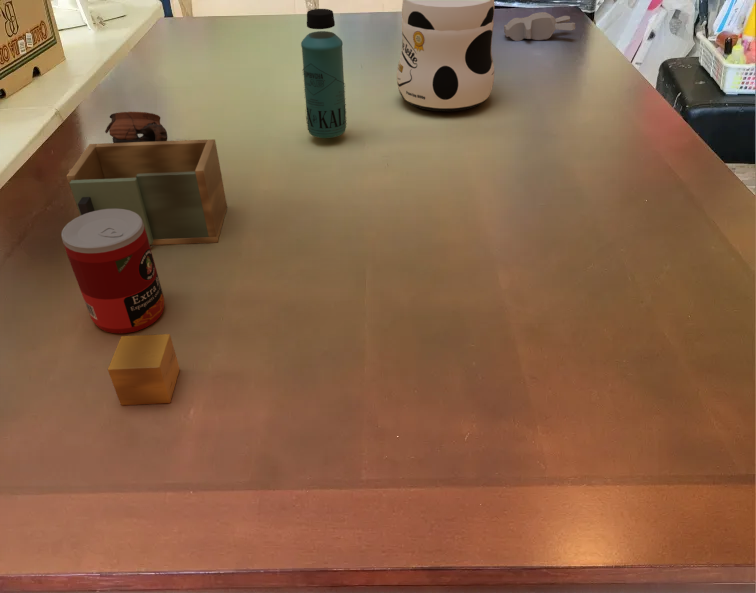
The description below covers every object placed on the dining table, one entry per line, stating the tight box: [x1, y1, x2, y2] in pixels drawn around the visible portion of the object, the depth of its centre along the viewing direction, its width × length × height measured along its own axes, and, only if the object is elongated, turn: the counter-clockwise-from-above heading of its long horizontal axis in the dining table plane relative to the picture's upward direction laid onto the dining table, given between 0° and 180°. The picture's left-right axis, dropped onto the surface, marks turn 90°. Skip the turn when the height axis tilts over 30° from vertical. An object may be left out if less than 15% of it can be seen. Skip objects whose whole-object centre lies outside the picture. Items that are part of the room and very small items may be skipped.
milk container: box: [396, 0, 495, 112], centre depth 115 cm, size 17×17×18 cm
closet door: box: [68, 178, 153, 244], centre depth 78 cm, size 8×2×9 cm, turn 92°
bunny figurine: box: [503, 11, 576, 42], centre depth 149 cm, size 10×5×15 cm
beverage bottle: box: [300, 8, 348, 139], centre depth 102 cm, size 6×7×20 cm
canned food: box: [60, 209, 165, 334], centre depth 69 cm, size 8×8×11 cm
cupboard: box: [66, 139, 228, 246], centre depth 83 cm, size 16×9×10 cm, turn 93°
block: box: [107, 333, 181, 406], centre depth 61 cm, size 5×5×5 cm
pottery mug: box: [104, 111, 168, 143], centre depth 103 cm, size 12×10×8 cm
